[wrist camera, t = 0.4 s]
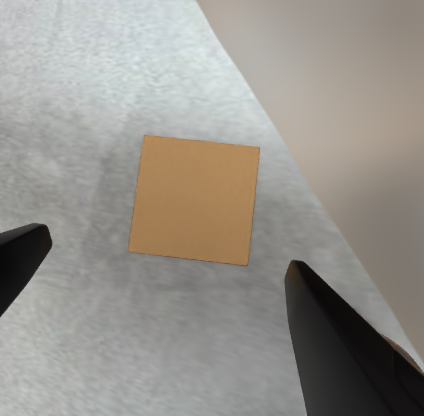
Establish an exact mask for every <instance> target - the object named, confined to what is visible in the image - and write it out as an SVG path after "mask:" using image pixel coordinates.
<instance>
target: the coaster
mask: <svg viewBox="0 0 424 416" xmlns="http://www.w3.org/2000/svg"><path fill="white" fill-rule="evenodd" d="M259 151H260V147H252V146H243V145H233V144H224V143H215V142H205V141H196V140H187V139H177V138H168V137H159V136H149V135H144V137H143V145H142V152H141V159H140V167H139V174H138V181H137V189H136V196H135V203H134V211H133V218H132V225H131V232H130V240H129V247H128V252H136V253H144V254H152V255H161V256H169V257H178V258H186V259H194V260H203V261H211V262H220V263H228V264H236V265H245V266H248V257H249V247H250V238H251V228H252V218H253V209H254V199H255V190H256V180H257V170H258V161H259Z"/></svg>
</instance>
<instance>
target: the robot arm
mask: <svg viewBox="0 0 424 416" xmlns="http://www.w3.org/2000/svg"><path fill="white" fill-rule="evenodd" d="M51 247H52V239H51V236H50V232H49V229H48V227H47V226H46V225H44V224H38V223H32V224H29V225H25V226H22V227H19V228H16V229H13V230H9V231H6V232H3V233H0V317H1V316H2V315H3V313H4V312H5V311H6V310H7V308H8V307H9V306H10V305H11V304H12V302H13V301H14V300H15V299H16V297H17V296H18V295H19V294H20V293H21V291H22V290H23V289H24V287H25V286H26V285H27V284H28V282H29V281H30V279H31V278H32V276H33V275H34V273H35V272H36V270H37V269H38V267H39V266H40V264H41V263H42V261H43V260H44V258H45V257H46V255H47V254H48V252H49V251H50V249H51ZM285 293H286V304H287V315H288V323H289V329H290V334H291V339H292V344H293V348H294V353H295V358H296V363H297V368H298V373H299V377H300V382H301V387H302V392H303V397H304V401H305V406H306V411H307V416H424V376H423V375H422V374H421V373H420V372H419V371H418V370H417V369H416V368H415V367H414V366H413V365H412V364H410V363H409V362H408V361H407V360H406V359H405V358H404V357H403V356H402V355H401V354H400V353H399V352H398V351H397V350H394V349H393V346H392V345H390V344H389V343H388V342H387V341H386V340H385V339H384V338H383V337H382V336H381V335H380V334H379V333H378V332H377V331H376V330H375V329H374V328H373V327H372V326H371V325H370V324H369V323H368V322H366V321H365V320H364V319H363V318H362V317H361V316H360V315H359V314H358V313H357V312H356V311H355V310H354V309H353V308H352V307H351V306H350V305H349V304H348V303H347V302H346V301H345V300H344V299H342V298H341V297H340V296H339V295H338V294H337V293H336V292H335V291H334V290H333V289H332V288H331V287H330V286H329V285H328V284H327V283H326V282H325V281H324V280H323V279H322V278H321V277H320V276H318V275H317V274H316V273H315V272H314V271H313V270H312V269H311V268H310V267H309V266H308V265H307V264H306V263H305V262H303V261H298V260H292V261H291V262H290V264H289V267H288V270H287V272H286V275H285Z"/></svg>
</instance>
